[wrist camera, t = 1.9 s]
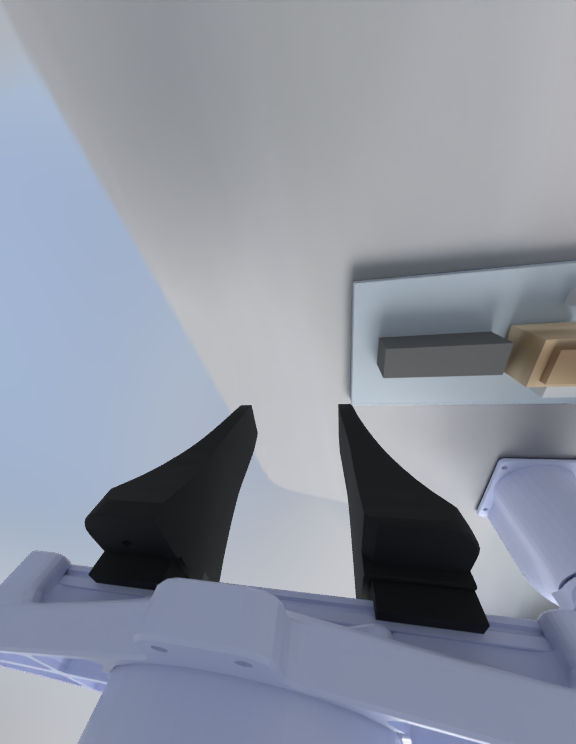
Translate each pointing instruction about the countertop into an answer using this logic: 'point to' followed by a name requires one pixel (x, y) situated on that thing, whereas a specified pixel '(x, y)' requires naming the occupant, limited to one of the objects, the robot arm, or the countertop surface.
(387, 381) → the channel
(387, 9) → the countertop surface
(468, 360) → the bar
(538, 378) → the slider block
